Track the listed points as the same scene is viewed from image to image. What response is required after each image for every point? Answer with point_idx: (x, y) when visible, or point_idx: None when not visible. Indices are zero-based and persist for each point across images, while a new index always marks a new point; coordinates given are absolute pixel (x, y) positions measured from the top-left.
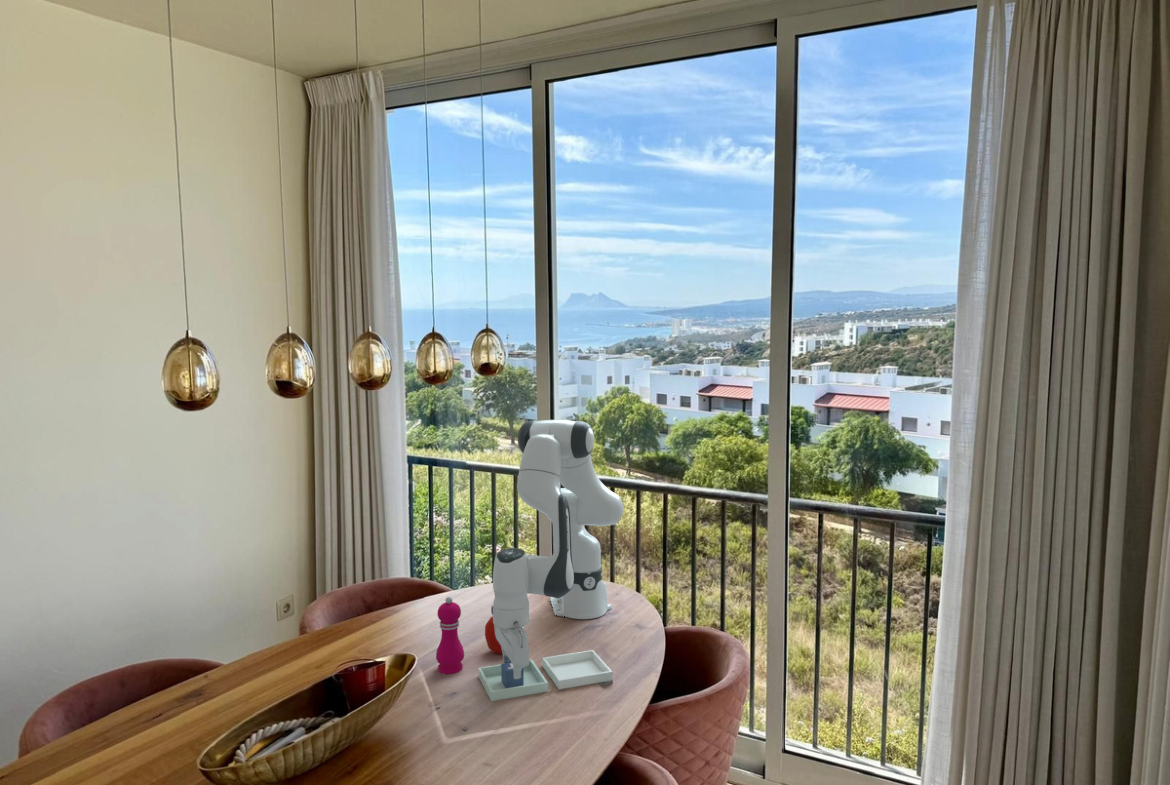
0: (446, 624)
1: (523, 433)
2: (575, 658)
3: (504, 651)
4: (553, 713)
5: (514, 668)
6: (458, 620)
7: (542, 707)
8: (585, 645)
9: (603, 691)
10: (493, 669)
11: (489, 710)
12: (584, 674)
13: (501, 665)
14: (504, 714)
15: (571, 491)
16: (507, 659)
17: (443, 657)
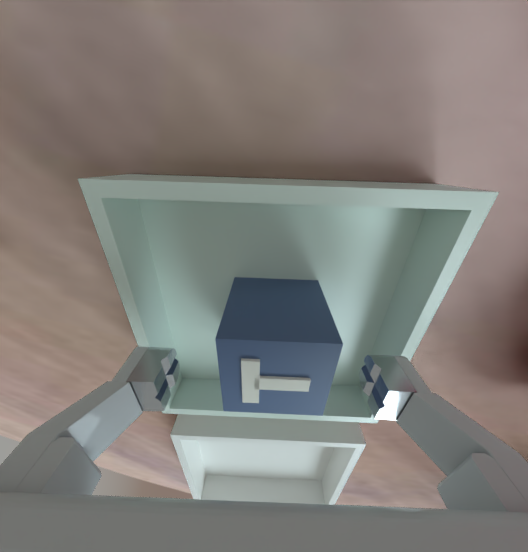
0: None
1: None
2: (331, 472)
3: (442, 429)
4: (54, 353)
5: (48, 422)
6: None
7: (94, 340)
8: (407, 483)
9: (170, 450)
10: (422, 279)
11: (63, 146)
12: (249, 456)
13: (334, 336)
14: (28, 209)
15: None
16: (376, 385)
17: None
